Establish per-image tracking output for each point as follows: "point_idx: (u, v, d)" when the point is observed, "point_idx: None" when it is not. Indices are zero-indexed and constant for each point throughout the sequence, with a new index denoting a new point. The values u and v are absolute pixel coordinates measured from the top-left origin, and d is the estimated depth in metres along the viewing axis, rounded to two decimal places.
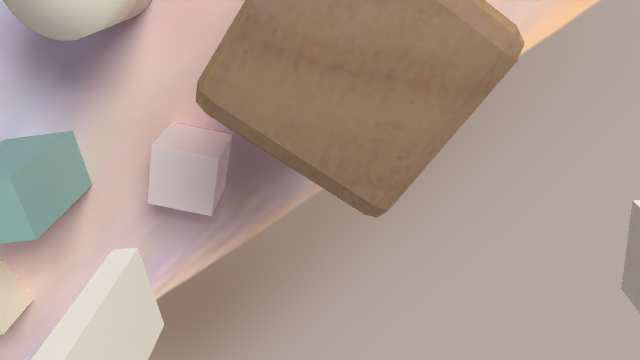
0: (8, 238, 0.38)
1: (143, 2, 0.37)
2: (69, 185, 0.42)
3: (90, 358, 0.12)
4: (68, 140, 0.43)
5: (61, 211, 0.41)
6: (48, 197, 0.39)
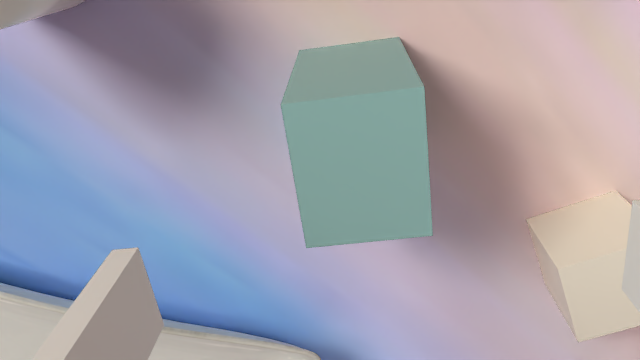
0: (417, 142, 0.19)
1: None
2: (373, 54, 0.23)
3: (90, 358, 0.12)
4: (307, 53, 0.26)
5: (405, 62, 0.21)
6: (364, 72, 0.21)
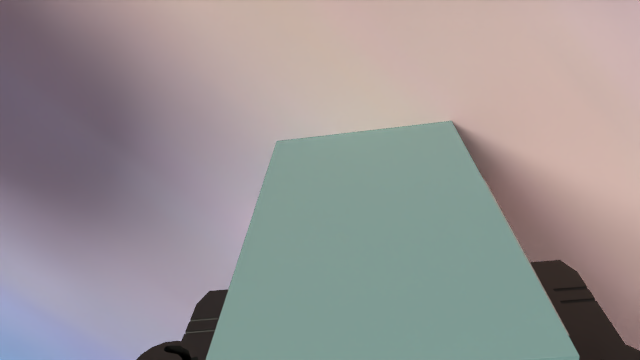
0: None
1: None
2: (412, 171, 0.12)
3: None
4: (288, 153, 0.14)
5: (487, 212, 0.10)
6: (403, 244, 0.10)
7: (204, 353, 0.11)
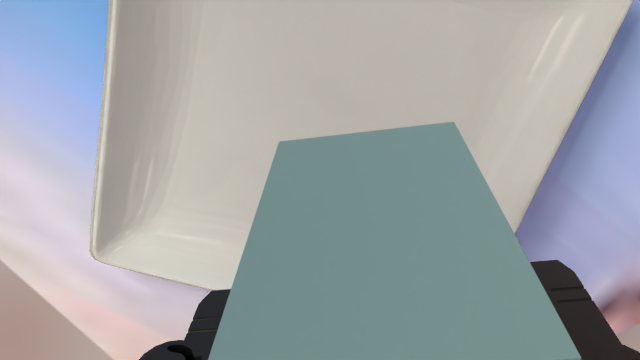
0: None
1: None
2: (414, 172, 0.12)
3: None
4: (290, 154, 0.14)
5: (489, 214, 0.10)
6: (405, 245, 0.10)
7: (207, 352, 0.11)
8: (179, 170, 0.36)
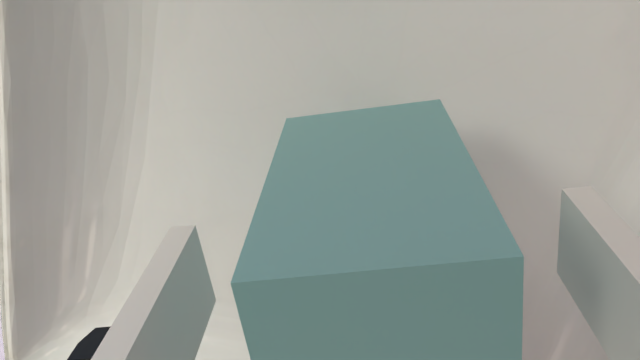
0: (501, 351, 0.10)
1: None
2: (403, 138, 0.14)
3: (163, 324, 0.12)
4: (296, 127, 0.16)
5: (463, 166, 0.12)
6: (393, 190, 0.12)
7: None
8: (138, 234, 0.23)
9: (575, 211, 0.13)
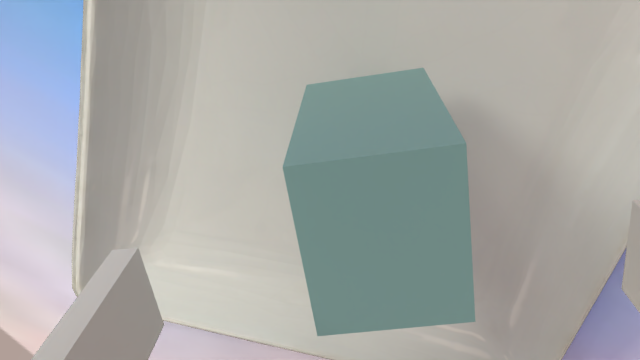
0: (456, 211, 0.15)
1: None
2: (395, 91, 0.20)
3: (90, 358, 0.12)
4: (315, 89, 0.22)
5: (435, 104, 0.17)
6: (386, 118, 0.17)
7: None
8: (182, 185, 0.28)
9: None
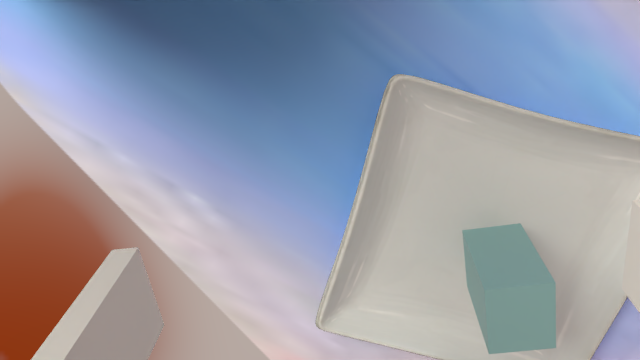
0: (550, 306, 0.39)
1: None
2: (512, 243, 0.43)
3: (90, 358, 0.12)
4: (469, 235, 0.46)
5: (535, 255, 0.41)
6: (516, 263, 0.41)
7: None
8: (379, 267, 0.52)
9: None
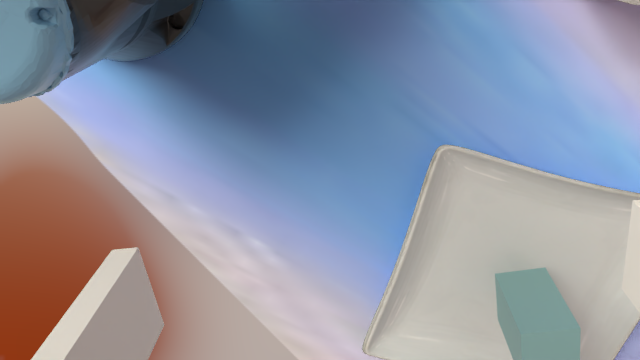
0: (575, 346, 0.46)
1: None
2: (540, 287, 0.51)
3: (90, 358, 0.12)
4: (502, 279, 0.53)
5: (561, 300, 0.49)
6: (545, 308, 0.48)
7: None
8: (418, 300, 0.60)
9: None
